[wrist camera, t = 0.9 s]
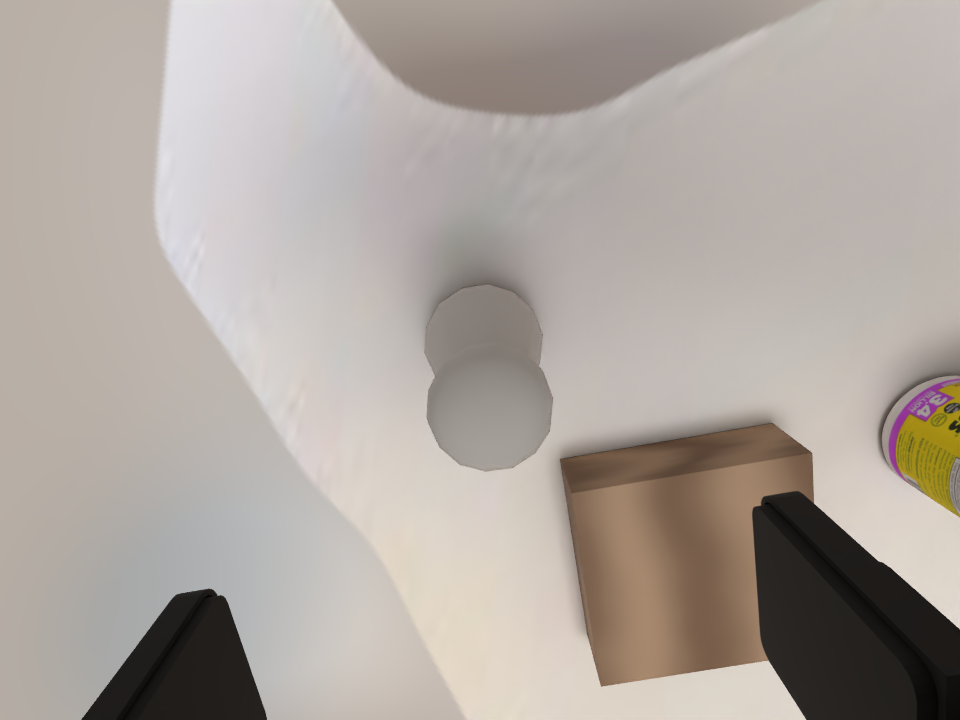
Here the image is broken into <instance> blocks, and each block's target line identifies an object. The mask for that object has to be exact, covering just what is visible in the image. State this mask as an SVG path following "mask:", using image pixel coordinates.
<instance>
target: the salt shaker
mask: <svg viewBox="0 0 960 720" xmlns="http://www.w3.org/2000/svg"><path fill="white" fill-rule="evenodd" d="M542 336H543V334H542V332H541V329H540V326H539V324H538V321H537V318H536V316H535V313H534V310H533V309H532V308H531V307H529V306H528V305H527V304H526V303H525V302H524V301H523V300H522V299H521V298H520V297H519V296H518V295H516V294H515V293H514V292H511V291H508V290H505V289H502V288H498V287H495V286H492V285H489V284H486V285H480V286H474V287H468V288H462V289H460V290H459V291H457V292H456V293H454V294H453V295H451V296H450V297H448V298H447V299H445V300H444V301H442V302H441V303H439V304H438V306H437V308H436V310H435V312H434V314H433V316H432V317H431V319H430V321H429V323H428V325H427V327H426V340H425V355H426V357H427V359H428V361H429V363H430V366H431V368H432V370H433V372H434V375H435V378H434V380H433V382H432V384H431V386H430V388H429V390H428V404H427V420H428V423H429V426H430V428H431V430H432V432H433V434H434V437H435V439H436V441H437V443H438V445H439V447H440V448H441V449H442V450H443V451H444V452H446V453H447V454H448V455H449V456H450V457H451V458H453V459H454V460H455V461H456V462H457V463H458V464H460V465H463V466H467V467H471V468H475V469H478V470H482V471H493V470H500V469H508V468H513V467H515V466H516V465H518V464H519V463H521V462H522V461H524V460H526V459H527V458H529V457H530V456H532V455H533V454H535V453H536V451H537V450H538V448H539V447H540V445H541V444H542V442H543V441H544V439H545V438H546V436H547V435H548V433H549V432H550V425H551V414H552V404H553V397H552V394H551V391H550V389H549V386H548V383H547V381H546V378H545V375H544V373H543V371H542V369H541V368H540V367H539V363H540V357H541V346H542Z"/></svg>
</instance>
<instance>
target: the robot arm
mask: <svg viewBox="0 0 960 720" xmlns="http://www.w3.org/2000/svg"><path fill="white" fill-rule="evenodd" d="M752 521H753V536H754V551H755V566H756V581H757V596H758V611H759V626H760V638H761V642H762V646H763V649H764V652H765V654H766V656H767V658H768V660H769V662H770V663H771V665H772V666H773V668H774V670H775V671H776V673H777V674H778V676H779V677H780V679H781V681H782V682H783V684H784V685H785V687H786V688H787V690H788V691H789V693H790V695H791V696H792V698H793V699H794V701H795V702H796V704H797V706H798V707H799V709H800V710H801V712H802V713H803V715H804V717H805V718H806V720H960V629H959V628H958V627H956V626H955V625H954V624H953V623H952V622H951V621H950V620H949V619H947V618H946V617H945V616H944V615H943V614H942V613H941V612H940V611H938V610H937V609H936V608H935V607H934V606H933V605H932V604H930V603H929V602H928V601H927V600H926V599H925V598H924V597H923V596H921V595H920V594H919V593H918V592H917V591H916V590H915V589H914V588H912V587H911V586H910V585H909V584H908V583H907V582H906V581H905V580H903V579H902V578H901V577H900V576H899V575H898V574H897V573H896V572H894V571H893V570H892V569H891V568H890V567H888V566H887V565H885V564H884V563H882V562H878V561H877V560H876V559H875V558H874V557H873V556H872V555H871V554H870V553H868V552H867V551H866V550H865V549H864V548H863V547H862V546H861V545H860V544H858V543H857V542H856V541H855V540H854V539H853V538H852V537H851V536H849V535H848V534H847V533H846V532H845V531H844V530H843V529H842V528H841V527H839V526H838V525H837V524H836V523H835V522H834V521H833V520H832V519H831V518H829V517H828V516H827V515H826V514H825V513H824V512H823V511H822V510H821V509H819V508H818V507H817V506H816V505H815V504H814V503H813V502H812V501H810V500H809V499H808V498H807V497H806V496H805V495H804V494H803V493H801V492H799V491H792V492H786V493H780V494H774V495H768V496H764V497H763V498H762V500H761V506H755V507H754V508H753V510H752ZM82 720H267V717H266V713H265V710H264V707H263V704H262V701H261V698H260V695H259V692H258V689H257V686H256V684H255V681H254V678H253V675H252V672H251V669H250V666H249V663H248V661H247V657H246V655H245V652H244V649H243V646H242V643H241V640H240V637H239V634H238V631H237V628H236V626H235V623H234V620H233V617H232V614H231V611H230V608H229V605H228V602H227V601H226V598H225V597H224V596H221V595H220V596H217V594H216V593H215V591H214V590H212V589H205V590H198V591H192V592H187V593H181V594H177V595H175V596H174V597H173V598H172V600H171V601H170V602H169V604H168V605H167V606H166V608H165V609H164V610H163V612H162V613H161V614H160V616H159V617H158V618H157V620H156V621H155V622H154V624H153V625H152V626H151V628H150V629H149V630H148V632H147V633H146V634H145V636H144V637H143V638H142V640H141V641H140V642H139V644H138V645H137V646H136V648H135V649H134V650H133V652H132V653H131V654H130V656H129V657H128V658H127V660H126V661H125V662H124V664H123V665H122V666H121V668H120V669H119V670H118V672H117V673H116V674H115V676H114V677H113V678H112V680H111V681H110V682H109V684H108V685H107V686H106V688H105V689H104V690H103V692H102V693H101V694H100V696H99V697H98V698H97V700H96V701H95V702H94V704H93V705H92V706H91V708H90V709H89V710H88V712H87V713H86V714H85V716H84V717H83V718H82Z"/></svg>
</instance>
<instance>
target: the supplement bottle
mask: <svg viewBox="0 0 960 720" xmlns="http://www.w3.org/2000/svg"><path fill="white" fill-rule="evenodd" d="M882 446H883V451H884V455H885V458H886V460H887V462H888V464H889V465H890V467H891V468H892V470H893V471H894V472H895V473H896V474H897V475H898V476H899V477H901V478H902V479H903V480H905V481H906V482H907V483H909V484H910V485H912V486H913V487H915V488H916V489H918V490H919V491H921V492H922V493H924V494H925V495H927V496H928V497H930V498H931V499H933V500H934V501H936V502H937V503H939V504H940V505H942V506H943V507H945V508H946V509H948V510H949V511H951V512H952V513H954V514H956V515H957V516H959V517H960V376H944V377H939V378H935V379H932V380H929V381H926V382H924V383H922V384H920V385H918V386H916V387H914V388H913V389H911V390H910V391H909V392H907V393H906V394H905V395H904V396H903V397H902V398H901V399H900V400H899V401H898V402H897V403H896V404H895V405H894V407H893V408H892V410H891V411H890V413H889V415H888V417H887V419H886V422H885V425H884V428H883V432H882Z"/></svg>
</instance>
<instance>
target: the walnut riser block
mask: <svg viewBox="0 0 960 720" xmlns="http://www.w3.org/2000/svg"><path fill="white" fill-rule="evenodd" d="M560 462H561V469H562V475H563V482H564V488H565V494H566V501H567V507H568V513H569V520H570V526H571V533H572V539H573V545H574V552H575V558H576V565H577V571H578V577H579V584H580V590H581V596H582V603H583V609H584V616H585V622H586V628H587V635H588V639H589V643H590V646H591V650H592V654H593V658H594V661H595V665H596V669H597V673H598V677H599V680H600V684H601V686H608V685H614V684H620V683H627V682H633V681H640V680H646V679H652V678H659V677H665V676H672V675H678V674H684V673H691V672H697V671H704V670H710V669H716V668H723V667H729V666H736V665H742V664H748V663H755V662H761V661H768V658H767V656H766V654H765V652H764V649H763V646H762V642H761V638H760V626H759V611H758V596H757V581H756V566H755V551H754V536H753V521H752V510H753V508H754V507H755V506H761V500H762V498H763V497H764V496H768V495H774V494H780V493H786V492H792V491H799V492H801V493H803V494H804V495H805V496H806V497H807V498H808V499H809V500H810V501H812V502H813V503H814V492H813V462H812V452H810V451H809V450H808V449H806V448H805V447H804V446H802V445H801V444H800V443H798V442H797V441H796V440H794V439H793V438H792V437H790V436H789V435H788V434H786V433H785V432H784V431H782V430H781V429H780V428H778V427H777V426H776V425H774V424H773V423H771V424H765V425H760V426H754V427H748V428H742V429H736V430H730V431H724V432H718V433H712V434H707V435H701V436H695V437H689V438H683V439H677V440H671V441H665V442H660V443H654V444H648V445H642V446H636V447H630V448H624V449H618V450H612V451H607V452H601V453H595V454H589V455H583V456H577V457H571V458H565V459H560Z"/></svg>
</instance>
